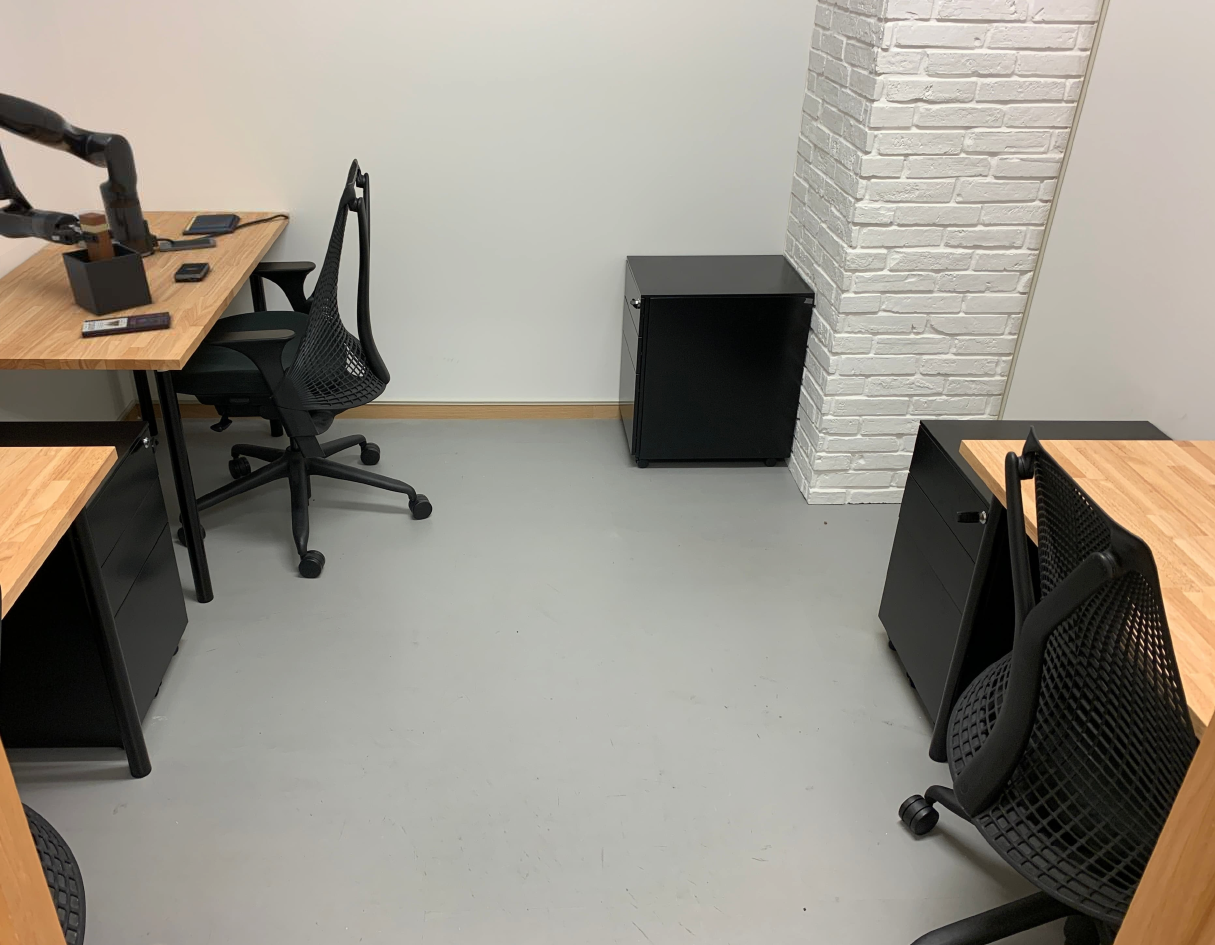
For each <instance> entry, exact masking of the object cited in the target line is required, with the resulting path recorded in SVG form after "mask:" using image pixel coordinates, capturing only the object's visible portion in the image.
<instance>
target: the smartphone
mask: <svg viewBox="0 0 1215 945" xmlns="http://www.w3.org/2000/svg"><path fill="white" fill-rule="evenodd" d="M192 239H194V240H192ZM192 239H191V238H190V239H180V240H179V239H178V240H176V241H177V242H175V243H171V242H168V241H159V249H160V252H172V251H181V250H192V249H193V250H194V249H203V248H213V247H216V243H215V237H212V238H201V239H196V238H192Z"/></svg>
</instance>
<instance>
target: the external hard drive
mask: <svg viewBox="0 0 1215 945" xmlns="http://www.w3.org/2000/svg"><path fill="white" fill-rule="evenodd" d="M210 269H211V266H210V263H209V262H183V263H182V264H181V265H180V266H179V267H178V268H177V270H176V271H175V272H174V274H173V279H174V281H175V282H176V283H177V282H182V283H183V282H200V281H202V280H203V279H204V277H206V275H207V274H208V272H209V270H210Z"/></svg>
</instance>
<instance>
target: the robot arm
mask: <svg viewBox="0 0 1215 945" xmlns="http://www.w3.org/2000/svg"><path fill="white" fill-rule="evenodd" d="M0 129H1V130H4V131H6V132H8V133H10V134H12V135H15V136H17V137H19V138H21V139H24V140H27V141H30V142H32V143H35V144H38V145H40V146H44V147H47V148H49V149H54V150H58V151H61V152H65V153H68V154H70V155H72V156H74V157H76V158H78V159H80V160H82V161H84V162H86V163H87V164H90V165H92V166H94V167H98V168H101V169H107V180H106V181H103V182H101V183H100V184H99V185H98V186H99V187H98V188H99V192H100V196H101V200H102V204H103V208H104V211H105V212H104V213H105V215H106V219H107V223H108V225H107V226H108V227H109V228H108V230H109V234H110V238H111V239H112V244H113V243H119V244H121V245H123V246H126V247H128V248H130V249H133V250H135V251H137V252H140V253H141V256H142V258H145V257H148V256H150V255H153V254H155V249H154V248H157V247H160V244H159V242H167V241H168V242H171V243H175V242H177V241H178V240H173V239H171V238H167V237H158V236H157V235H156V234H153V233H151V231H150V227H149V222H148V220H147V219H145V218H144V214H143V209H142V205H141V201H140V197H139V192H138V174H137V168H136V162H135V157H134V156H135V155H134V151H133V148H132V146H131V144H130V142H129V140H128V139H127V138H126V137H125V136H124V135H122V134H119V133H113V132H111V133H110V132H102V131H101V132H100V131H92V130H88V129H84V128H81V127H79V126H75V125H73V124H71V123H69V122H68V121H67V120H66V119H65V117H63V116H62V115H61V114H60V113H58V112H56V111H54V110H52V109H51V108H48V107H46V106H44V105H41V104H40V103H39V104H38V103H37V102H34V101H31V100H27V99H26V98H25V99H24V98H21V97H18V96H14V95H12V94H11V95H10V94H8V93H7V94H6V93H3V92H0ZM7 200H8V201H9V203H8V204H6V205H3V206H1V207H0V236H1V237H4V238H8V239H13V240H15V239H28V238H35V239H41V240H44V241H46V242H50V243H54V244H59V245H64V246H73V245H77V244H78V243H79V242H82V243H85V242H91V243H95V244H96V243H99V239H98V235H97V234H95V233H90V232H84V231H82V228H81V224H80V220H79V219H78V218H77V217H75V216H74V215H71V214H72V213H66V212H61V211H56V210H45V209H40V208H34V207H33V205H32V203H31V202H30V201H29V200H28V199H27V198H26V196H25V195H24V194H23V193H22V191H21V190H20V188H19V186H18V185H17V183H16V181H15V178H14V175H13V174H12V171H11V168H10V167H9V164H8V162H7V159H6V156H5V154H4V151H3V147H2V144H1V143H0V201H7ZM277 218H285V219H287V220H289V219H290V216H288V215H287V214H284V213H281V214H280V213H279V214H276V215H273V216H271V217H266V218H262V219H255V220H253V221H248V222H245V223H242V224H237V225H236V227H233V228H232V229H234V231H235V230H238V229H240V228H241V229H242V228H243V227H246V226H247V227H248V226H251V225H255V224H258V223H259V224H260V223H264V222H269V221H272V220H274V219H277ZM224 233H226V230H224V231H222V232H219V233H215V234H208V235H204V236H201V237H197V238H192V240H194V239H201V238H215V237H218V236H221V235H225V234H224Z"/></svg>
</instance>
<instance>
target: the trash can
mask: <svg viewBox="0 0 1215 945" xmlns="http://www.w3.org/2000/svg"><path fill="white" fill-rule="evenodd" d="M112 246H113V250H114V254H115V258H110V259H106V260H101V261H96V262H92V261H90V258H89V254H88V250H87V248H83V249H76V250H71V251H67V252H62V253H61V257H62V260H63V263H64V267H65V271H66V274H67V277H68V282H69V284H70V285H69V286H70V289H71V291H72V292H71V293H72V295H73V298H74V303H75V304H76V305H78V306H79V307H81V308H83V309H85V310H87V311H88V312H90V313H92V314H94V315H95V316H98V317H101V316H104V315H107V314H108V315H109V314H112V313H117V312H121V311H125V310H130V309H134V308H138V307H142V306H146V305H151V304H154V303H153V298H152V294H151V290H150V286H149V282H148V277H147V273H146V270H145V264H144V261H143V257H142V256H141V253H140V252H137V251H135V250H133V249H130V248H128V247H126V246H123V245H121V244H119V243H113V244H112Z"/></svg>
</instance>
